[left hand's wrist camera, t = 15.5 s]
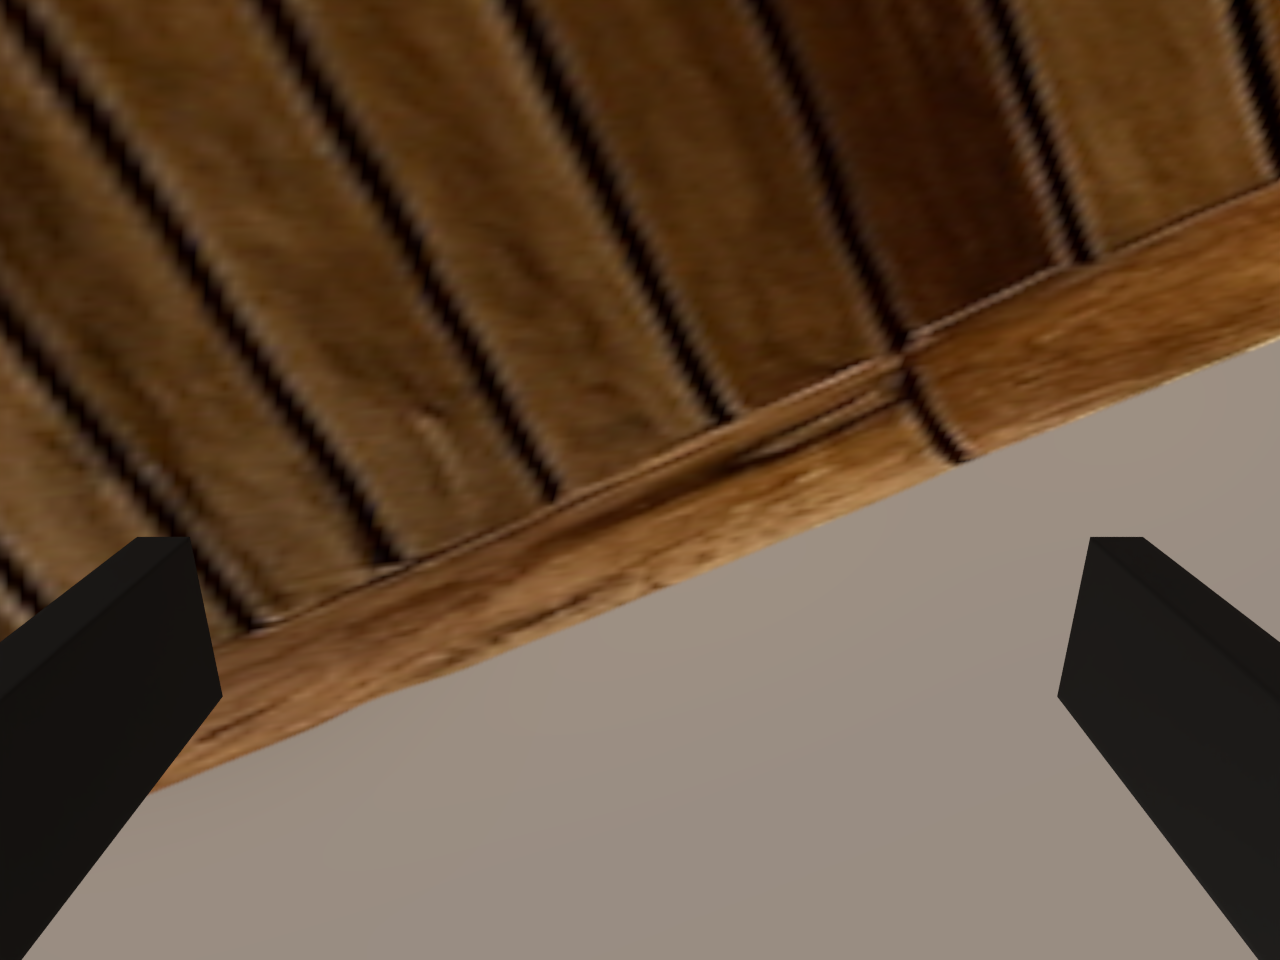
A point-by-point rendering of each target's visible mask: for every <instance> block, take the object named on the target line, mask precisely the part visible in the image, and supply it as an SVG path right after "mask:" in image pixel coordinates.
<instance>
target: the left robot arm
mask: <svg viewBox="0 0 1280 960" xmlns="http://www.w3.org/2000/svg"><path fill="white" fill-rule="evenodd" d="M222 697H223V696H222V691H221V686H220V681H219V676H218V672H217V667H216V662H215V657H214V652H213V647H212V643H211V638H210V633H209V628H208V623H207V618H206V614H205V609H204V604H203V599H202V594H201V589H200V585H199V580H198V575H197V570H196V565H195V560H194V556H193V551H192V546H191V541H190V537H137V538H135V539H134V540H133V541H131V542H130V543H129V544H127V545H126V546H125V547H123V548H122V549H121V550H120V551H118V552H117V553H116V554H114V555H113V556H112V557H110V558H109V559H108V560H107V561H105V562H104V563H103V564H101V565H100V566H99V567H97V568H96V569H95V570H94V571H92V572H91V573H90V574H88V575H87V576H86V577H84V578H83V579H82V580H81V581H79V582H78V583H77V584H75V585H74V586H73V587H71V588H70V589H69V590H68V591H66V592H65V593H64V594H62V595H61V596H60V597H58V598H57V599H56V600H55V601H53V602H52V603H51V604H49V605H48V606H47V607H45V608H44V609H43V610H42V611H40V612H39V613H38V614H36V615H35V616H34V617H32V618H31V619H30V620H29V621H27V622H26V623H25V624H23V625H22V626H21V627H19V628H18V629H17V630H16V631H14V632H13V633H12V634H10V635H9V636H8V637H6V638H5V639H4V640H3V641H1V642H0V960H22V958H23V957H24V956H25V955H26V953H27V952H28V951H29V949H30V948H31V947H32V945H33V944H34V943H35V941H36V940H37V939H38V937H39V936H40V935H41V934H42V932H43V931H44V930H45V928H46V927H47V926H48V924H49V923H50V922H51V920H52V919H53V918H54V917H55V915H56V914H57V913H58V911H59V910H60V909H61V907H62V906H63V905H64V903H65V902H66V901H67V900H68V898H69V897H70V896H71V894H72V893H73V892H74V890H75V889H76V888H77V886H78V885H79V884H80V883H81V881H82V880H83V879H84V877H85V876H86V875H87V873H88V872H89V871H90V869H91V868H92V867H93V865H94V864H95V863H96V862H97V860H98V859H99V858H100V856H101V855H102V854H103V852H104V851H105V850H106V848H107V847H108V846H109V845H110V843H111V842H112V841H113V839H114V838H115V837H116V835H117V834H118V833H119V831H120V830H121V829H122V828H123V826H124V825H125V824H126V822H127V821H128V820H129V818H130V817H131V816H132V814H133V813H134V812H135V811H136V809H137V808H138V807H139V805H140V804H141V803H142V801H143V800H144V799H145V797H146V796H147V795H148V794H149V792H150V791H151V790H152V788H153V787H154V786H155V784H156V783H157V782H158V780H159V779H160V778H161V777H162V775H163V774H164V773H165V771H166V770H167V769H168V767H169V766H170V765H171V763H172V762H173V761H174V760H175V758H176V757H177V756H178V754H179V753H180V752H181V750H182V749H183V748H184V746H185V745H186V744H187V743H188V741H189V740H190V739H191V737H192V736H193V735H194V733H195V732H196V731H197V729H198V728H199V727H200V726H201V724H202V723H203V722H204V720H205V719H206V718H207V716H208V715H209V714H210V712H211V711H212V710H213V709H214V707H215V706H216V705H217V703H218V702H219V701H220V699H221V698H222ZM1058 698H1059V699H1060V701H1061V702H1062V703H1063V705H1064V706H1065V707H1066V708H1067V710H1068V711H1069V712H1070V714H1071V715H1072V716H1073V718H1074V719H1075V720H1076V722H1077V723H1078V724H1079V726H1080V727H1081V728H1082V729H1083V731H1084V732H1085V733H1086V735H1087V736H1088V737H1089V739H1090V740H1091V741H1092V743H1093V744H1094V745H1095V746H1096V748H1097V749H1098V750H1099V752H1100V753H1101V754H1102V756H1103V757H1104V758H1105V760H1106V761H1107V762H1108V763H1109V765H1110V766H1111V767H1112V769H1113V770H1114V771H1115V773H1116V774H1117V775H1118V777H1119V778H1120V779H1121V780H1122V782H1123V783H1124V784H1125V786H1126V787H1127V788H1128V790H1129V791H1130V792H1131V794H1132V795H1133V796H1134V797H1135V799H1136V800H1137V801H1138V803H1139V804H1140V805H1141V807H1142V808H1143V809H1144V811H1145V812H1146V813H1147V815H1148V816H1149V817H1150V818H1151V820H1152V821H1153V822H1154V824H1155V825H1156V826H1157V828H1158V829H1159V830H1160V832H1161V833H1162V834H1163V835H1164V837H1165V838H1166V839H1167V841H1168V842H1169V843H1170V845H1171V846H1172V847H1173V848H1174V850H1175V851H1176V852H1177V854H1178V855H1179V856H1180V858H1181V859H1182V860H1183V862H1184V863H1185V864H1186V866H1187V867H1188V868H1189V869H1190V871H1191V872H1192V873H1193V875H1194V876H1195V877H1196V879H1197V880H1198V881H1199V883H1200V884H1201V885H1202V886H1203V888H1204V889H1205V890H1206V892H1207V893H1208V894H1209V896H1210V897H1211V898H1212V900H1213V901H1214V902H1215V903H1216V905H1217V906H1218V907H1219V909H1220V910H1221V911H1222V913H1223V914H1224V915H1225V917H1226V918H1227V919H1228V920H1229V922H1230V923H1231V924H1232V926H1233V927H1234V928H1235V930H1236V931H1237V932H1238V934H1239V935H1240V936H1241V938H1242V939H1243V940H1244V941H1245V943H1246V944H1247V945H1248V947H1249V948H1250V949H1251V951H1252V952H1253V953H1254V955H1255V956H1256V957H1257V958H1258V960H1280V642H1279V641H1277V640H1276V639H1275V638H1274V637H1272V636H1271V635H1270V634H1268V633H1267V632H1266V631H1264V630H1263V629H1262V628H1261V627H1259V626H1258V625H1257V624H1255V623H1254V622H1253V621H1251V620H1250V619H1249V618H1248V617H1246V616H1245V615H1244V614H1242V613H1241V612H1240V611H1238V610H1237V609H1236V608H1234V607H1233V606H1232V605H1231V604H1229V603H1228V602H1227V601H1225V600H1224V599H1223V598H1221V597H1220V596H1219V595H1218V594H1216V593H1215V592H1214V591H1212V590H1211V589H1210V588H1208V587H1207V586H1206V585H1205V584H1203V583H1202V582H1201V581H1199V580H1198V579H1197V578H1196V577H1194V576H1193V575H1192V574H1190V573H1189V572H1188V571H1186V570H1185V569H1184V568H1182V567H1181V566H1180V565H1179V564H1177V563H1176V562H1175V561H1173V560H1172V559H1171V558H1170V557H1168V556H1167V555H1166V554H1164V553H1163V552H1162V551H1160V550H1159V549H1158V548H1157V547H1155V546H1154V545H1153V544H1151V543H1150V542H1149V541H1147V540H1146V539H1145V538H1143V537H1090V541H1089V546H1088V551H1087V556H1086V560H1085V565H1084V570H1083V575H1082V580H1081V585H1080V589H1079V594H1078V599H1077V604H1076V609H1075V614H1074V618H1073V623H1072V628H1071V633H1070V638H1069V643H1068V647H1067V652H1066V657H1065V662H1064V667H1063V672H1062V676H1061V681H1060V686H1059V691H1058Z"/></svg>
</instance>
